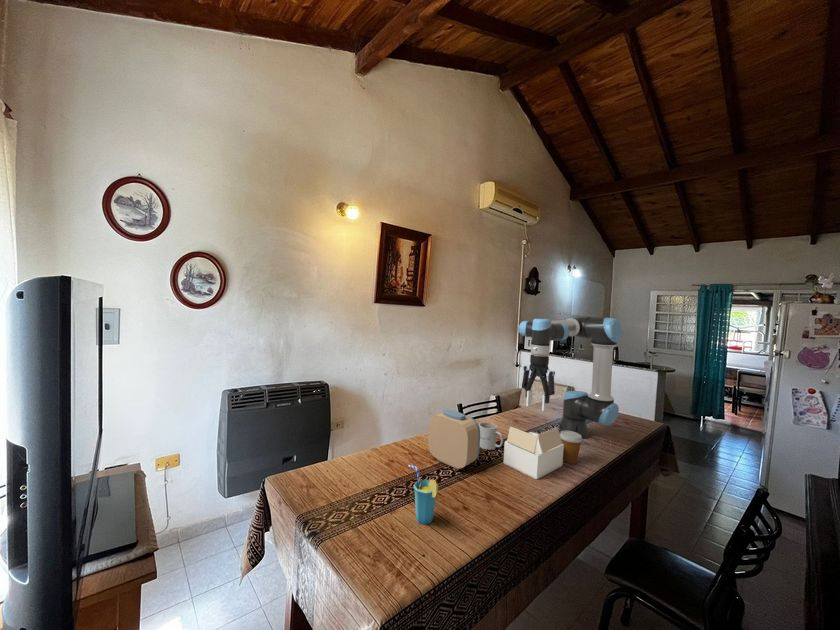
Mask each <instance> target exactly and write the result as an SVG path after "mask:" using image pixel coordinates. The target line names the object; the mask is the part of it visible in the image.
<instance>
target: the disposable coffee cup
mask: <svg viewBox="0 0 840 630" xmlns="http://www.w3.org/2000/svg"><path fill="white" fill-rule="evenodd" d="M559 434H560V438H561V442H562V444H564V448H563V462H564V463H566V464H567V463H568V464H573V465H574V464H577V463H578V458H579V454H580V448H581V445H582V442H583V439H582V436H581V435H580V434H579V433H576V432H573V431H561V433H560V432H559Z"/></svg>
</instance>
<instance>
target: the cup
mask: <svg viewBox="0 0 840 630" xmlns="http://www.w3.org/2000/svg"><path fill="white" fill-rule="evenodd" d="M407 467H408V468H409V469H413V470H415V473H416V477H417V481H416V482H415V483H414V485H413V490H414V502H415V503H414V504H415V507H414V508H415V520H416V521H417V523H418V524H422V525H429V524H431V523H432V521H433V519H434V514H435V508H436V507H435V505H436V500H437V499H436V498H438V495H439V485H438V483H437V482H436V480H435V479H422V480H421V476H420V471H419V469H418V467H417V466H416V465H411V464H408V466H407Z"/></svg>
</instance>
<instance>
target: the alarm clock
mask: <svg viewBox="0 0 840 630" xmlns="http://www.w3.org/2000/svg"><path fill="white" fill-rule="evenodd" d="M429 419H430V420H429V422H428V436H427V437H428V440H427V444H428V445H427V446H428V450H429V452H430V454H431V455H432V456H433V457H434V458H435V459H436V461H437V462H440V463H442V464H444V465H446V466H448V467H450V466H451V467H450V468H452V467H453V468H452V469H454V468H455V470H456V471H459V469H460V470H461V469H463V468H464V467H467V466H469V465H470V464H471V463H474V462H475V461H476V460H477V459H478V458H479V455H480V449H481V448H480V427H479V423H478V422H477V420H476V419H474V418H473V417H470V416H468V415H466V414H464V413H462V412H459V411H456V410H451V409H445V410H443V411H442V412H441V413H437V414H435V415H433V416H431V418H429Z"/></svg>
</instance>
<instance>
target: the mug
mask: <svg viewBox="0 0 840 630" xmlns="http://www.w3.org/2000/svg"><path fill="white" fill-rule="evenodd" d="M478 425H479V427H480V447H481V448H480V449H483V450H487V449H488V450H489V451H491V449H492V450H495V449H496V448H501V447H502V445H504V436H503V434H502V433H501V431H498V425H497V424H495V423H493V422H486V421H484V422H480V423H478ZM497 435H499V437H500V444H497Z"/></svg>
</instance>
